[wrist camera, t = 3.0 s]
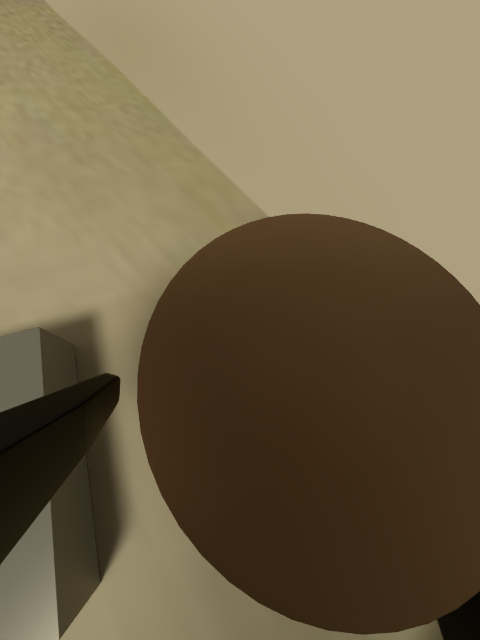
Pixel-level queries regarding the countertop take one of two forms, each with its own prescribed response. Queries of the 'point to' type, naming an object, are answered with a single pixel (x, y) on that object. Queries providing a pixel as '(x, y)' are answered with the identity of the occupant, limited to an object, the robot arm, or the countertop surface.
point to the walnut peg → (320, 421)
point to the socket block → (46, 508)
